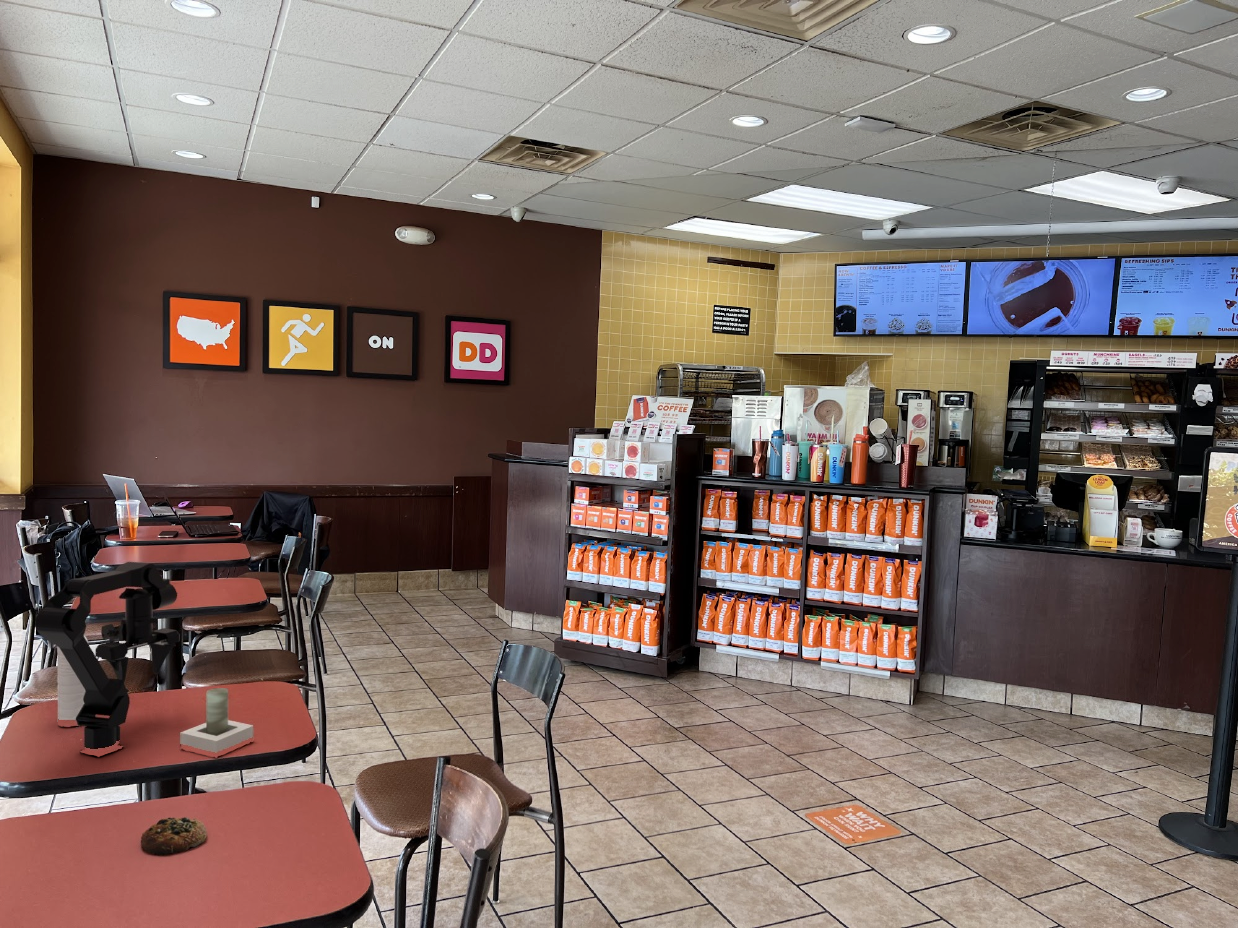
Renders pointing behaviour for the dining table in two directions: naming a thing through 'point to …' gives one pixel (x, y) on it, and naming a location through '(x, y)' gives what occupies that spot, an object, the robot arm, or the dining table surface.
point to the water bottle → (68, 689)
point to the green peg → (217, 711)
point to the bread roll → (173, 836)
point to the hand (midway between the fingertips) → (139, 678)
